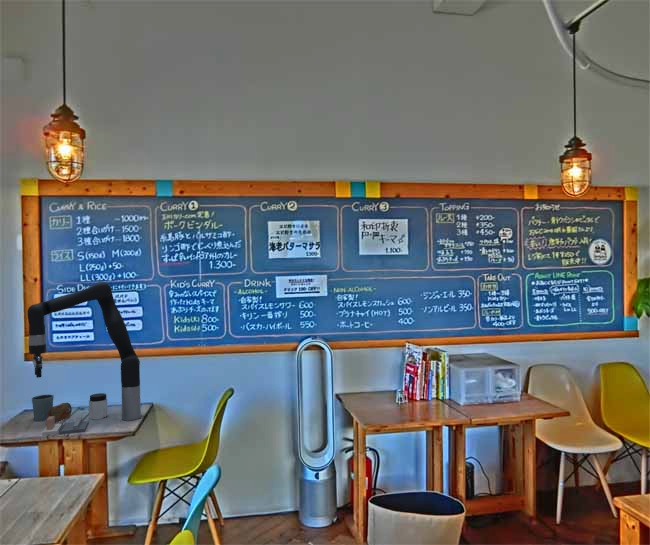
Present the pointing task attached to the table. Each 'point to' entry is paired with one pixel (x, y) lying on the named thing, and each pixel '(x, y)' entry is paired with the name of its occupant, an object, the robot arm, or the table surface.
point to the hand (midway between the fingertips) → (38, 376)
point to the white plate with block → (52, 426)
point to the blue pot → (42, 406)
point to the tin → (60, 411)
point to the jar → (98, 406)
